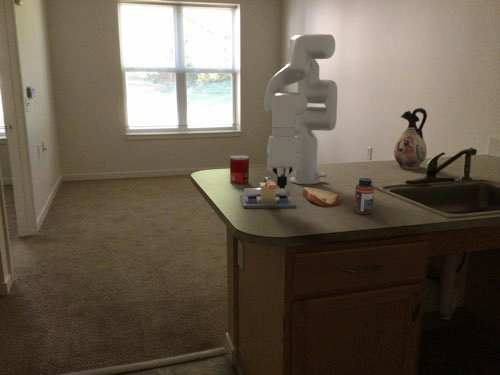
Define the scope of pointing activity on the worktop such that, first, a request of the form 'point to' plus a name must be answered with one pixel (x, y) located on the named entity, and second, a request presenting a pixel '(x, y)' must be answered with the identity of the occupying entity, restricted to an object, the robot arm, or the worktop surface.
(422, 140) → the ceramic jug
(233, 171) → the canned food
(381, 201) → the worktop surface
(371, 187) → the supplement bottle
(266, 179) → the lever
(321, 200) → the bread slice
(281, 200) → the valve assembly
